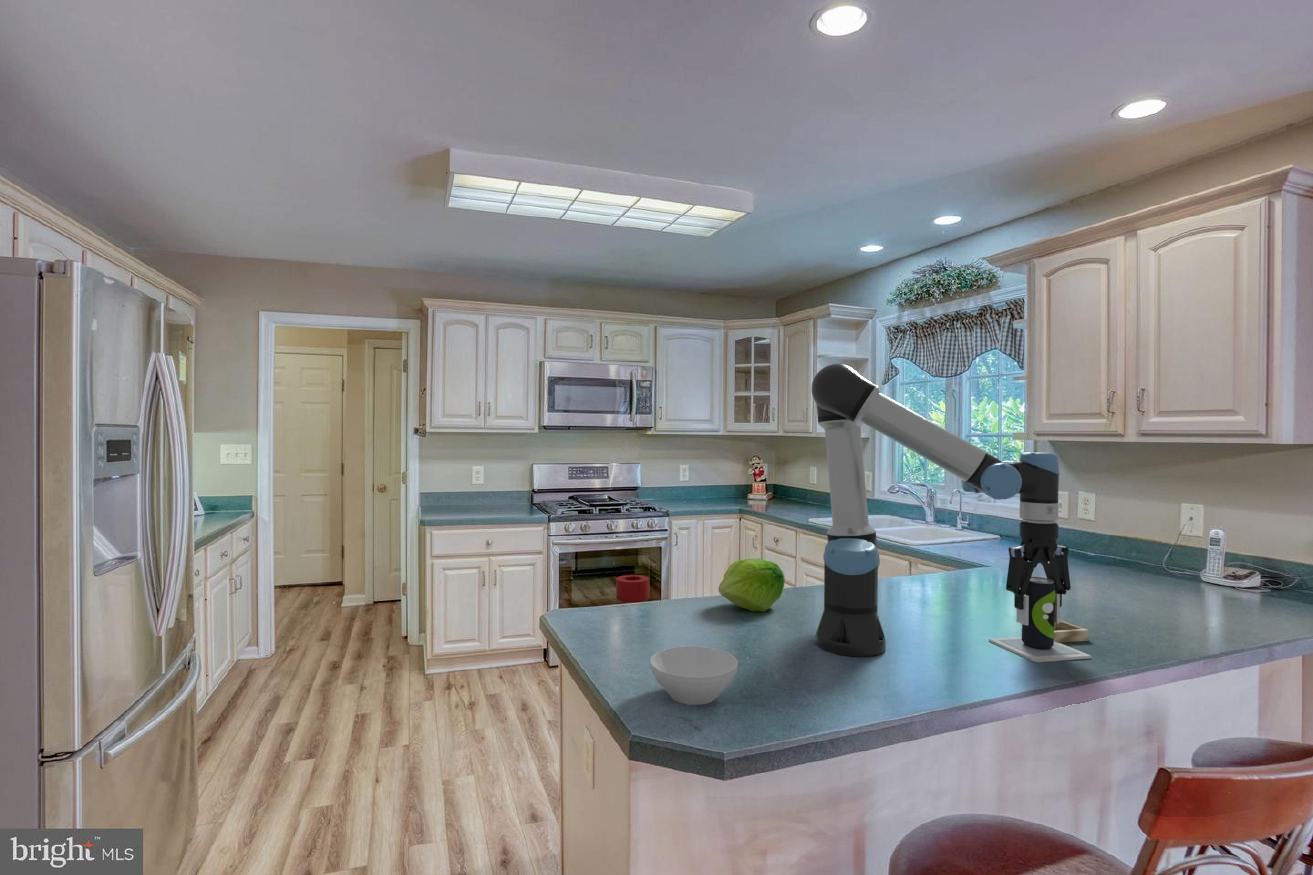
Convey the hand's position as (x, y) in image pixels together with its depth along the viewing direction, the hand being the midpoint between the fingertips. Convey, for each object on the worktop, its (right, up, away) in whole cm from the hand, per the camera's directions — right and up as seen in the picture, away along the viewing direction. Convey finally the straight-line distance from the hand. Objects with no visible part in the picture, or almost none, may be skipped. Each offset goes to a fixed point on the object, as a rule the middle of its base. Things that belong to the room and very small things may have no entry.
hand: (1038, 622), depth 143 cm
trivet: (0, -6, 0) cm, 6 cm away
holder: (+10, -6, +10) cm, 16 cm away
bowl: (-79, -6, -28) cm, 84 cm away
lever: (-92, -6, +45) cm, 103 cm away
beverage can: (0, -6, 0) cm, 6 cm away
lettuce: (-60, -6, +32) cm, 68 cm away
